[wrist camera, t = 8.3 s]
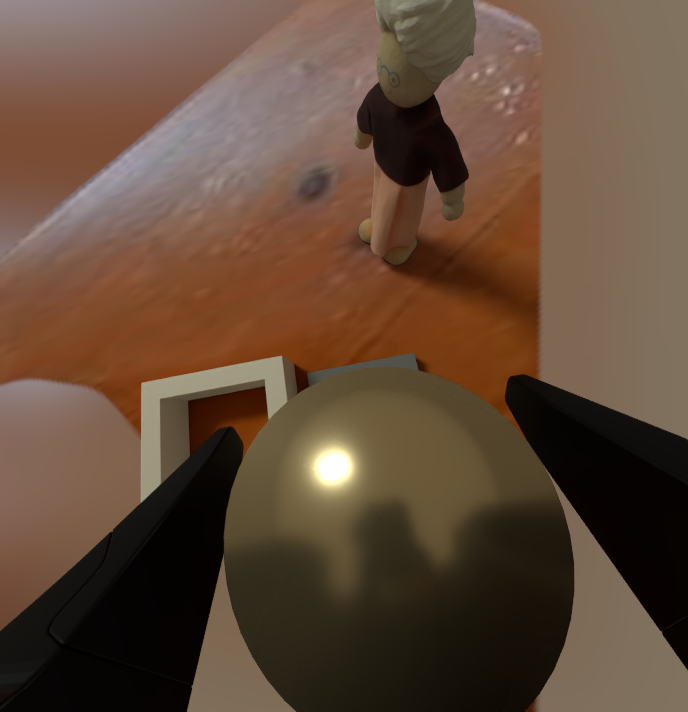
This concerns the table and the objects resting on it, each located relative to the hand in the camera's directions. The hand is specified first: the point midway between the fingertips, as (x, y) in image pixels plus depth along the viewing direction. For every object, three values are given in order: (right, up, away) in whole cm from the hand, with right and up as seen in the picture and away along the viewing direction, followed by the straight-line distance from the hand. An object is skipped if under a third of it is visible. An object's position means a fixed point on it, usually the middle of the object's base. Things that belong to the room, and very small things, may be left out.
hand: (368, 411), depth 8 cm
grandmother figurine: (+3, +10, +11) cm, 15 cm away
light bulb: (+1, -3, +7) cm, 8 cm away
